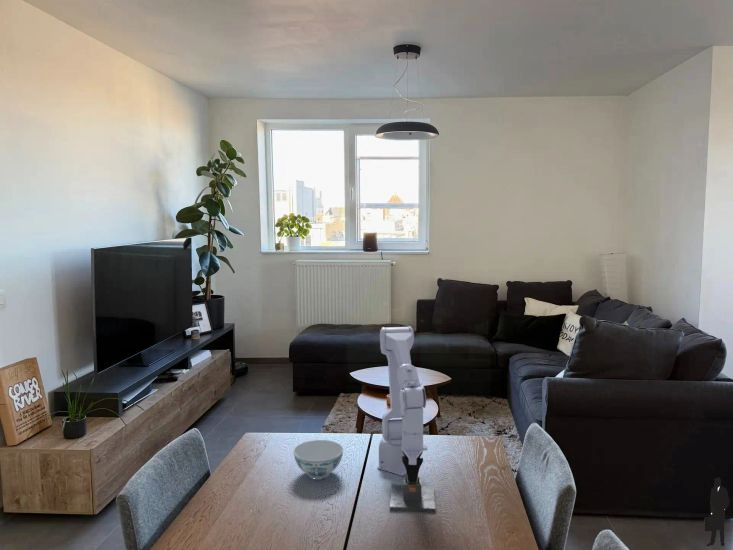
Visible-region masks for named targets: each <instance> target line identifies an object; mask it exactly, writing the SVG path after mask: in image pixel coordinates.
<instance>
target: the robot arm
mask: <svg viewBox="0 0 733 550" xmlns="http://www.w3.org/2000/svg"><path fill="white" fill-rule="evenodd" d="M414 342H415V334H414V329H413V327H412V326H410V325H409V326H401V327H400V326H398V327H397V326H393V327H392V326H391V327H389V326H388V327H384V326H381V329H380V330H379V343H380V345H379V346H380V347H379V348H380V351H381V355H382V354H383V355H385V356H386V359H387V365H388V383H389V388H388V389H389V400H390V401H389V404H390V408H389V409H388V410H386V412H384V413H383V414H382V417H381V421H382V423H381V435H382V439H381V440H380V442H379V445H378V465H377V469H378V470H382V471H385V472H389V473H392V474H396V475H398V476H400V477H404V476H407V477H408V481H409V483H416V482H417V478H418V477H419V471H420V468H421V466H422V465H423V462H424V458H423V457H422V455H423V453H424V451H428V445H427V444H424V409H426V406H427V395H426V389H425V386H423V384H422V383H420V379H419V378H420V377H419V374H418V371H417V367H416V366H414V365H412V360H411V349H412V347H413V345H414Z"/></svg>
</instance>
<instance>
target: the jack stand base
mask: <svg viewBox="0 0 733 550" xmlns="http://www.w3.org/2000/svg"><path fill="white" fill-rule="evenodd" d="M390 487H391V488H390V498H389V499H390V500H389V501H390V502H389V511H396V512H398V511H400V512H423V513H436V500H435V489H434V485H422V476H418V484H407V475H404V476H403V485H402V484H391V486H390Z"/></svg>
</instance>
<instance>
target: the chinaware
mask: <svg viewBox="0 0 733 550" xmlns="http://www.w3.org/2000/svg"><path fill="white" fill-rule="evenodd" d="M343 454H344V447H343V446H342V445H341V444H340V443H338V442H336V441H332V440H327V439H314V440H309V441H305V442H302V443H300V444H298V445H297V446H295V447H294V448H293V456H294V461H295V462H296V464H297V466H298V468H299V469H300V470H301V471H302V472H303V473H305V474H306V475H307V477H308V476H309V477H308V478H310V477H311V478H310V479H312V478H315V479H314V480H322V479H321V478H324V479H326V478H325V477H327V478H328V477H330V475H331V473H332V472H334V470H336V469H337V468H338V466H339V464H340V463H341V461H342V458H343Z"/></svg>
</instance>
